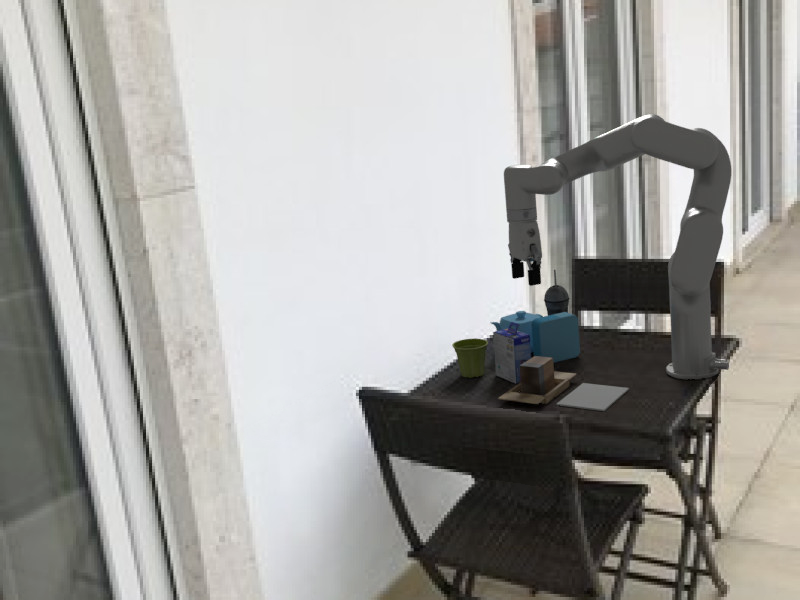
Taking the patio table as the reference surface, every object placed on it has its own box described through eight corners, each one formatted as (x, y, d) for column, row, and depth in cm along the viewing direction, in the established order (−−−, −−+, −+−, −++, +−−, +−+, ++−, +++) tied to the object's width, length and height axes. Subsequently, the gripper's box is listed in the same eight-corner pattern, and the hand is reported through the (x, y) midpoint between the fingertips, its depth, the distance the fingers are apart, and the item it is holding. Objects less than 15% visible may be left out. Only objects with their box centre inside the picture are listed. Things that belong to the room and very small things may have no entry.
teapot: (481, 354, 273) (477, 315, 271) (532, 340, 282) (529, 302, 279) (506, 364, 263) (503, 323, 260) (559, 348, 271) (556, 309, 268)
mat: (629, 389, 234) (628, 388, 234) (604, 411, 222) (604, 409, 222) (583, 384, 241) (583, 382, 241) (556, 405, 229) (556, 403, 229)
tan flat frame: (577, 380, 244) (576, 373, 244) (538, 410, 227) (537, 403, 227) (539, 376, 250) (538, 369, 250) (498, 404, 233) (498, 397, 233)
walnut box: (555, 388, 241) (553, 357, 239) (540, 399, 234) (538, 367, 232) (536, 386, 243) (534, 355, 242) (522, 396, 237) (519, 365, 235)
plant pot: (467, 367, 264) (464, 336, 262) (497, 370, 258) (494, 339, 256) (448, 378, 257) (445, 347, 255) (479, 382, 251) (476, 350, 249)
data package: (571, 352, 267) (569, 310, 264) (580, 356, 262) (578, 314, 260) (533, 361, 262) (530, 319, 260) (542, 365, 258) (539, 322, 255)
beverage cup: (546, 341, 278) (541, 274, 273) (546, 334, 285) (542, 268, 280) (572, 340, 277) (567, 272, 272) (571, 333, 284) (567, 266, 279)
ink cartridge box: (534, 379, 248) (530, 325, 245) (516, 384, 246) (512, 330, 242) (512, 370, 257) (508, 318, 253) (495, 375, 255) (490, 323, 251)
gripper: (551, 216, 235) (555, 285, 239) (520, 208, 251) (525, 272, 255) (522, 221, 233) (527, 290, 237) (494, 212, 249) (499, 277, 253)
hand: (526, 281), depth 246 cm, fingers open, 9 cm apart
